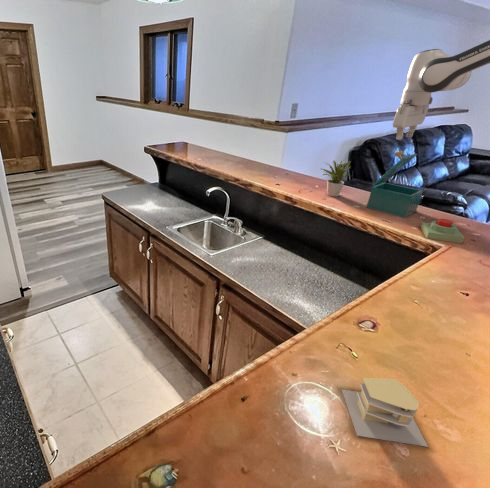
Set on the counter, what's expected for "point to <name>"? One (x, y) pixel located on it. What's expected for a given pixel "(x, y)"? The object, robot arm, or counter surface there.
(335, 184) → the house plant
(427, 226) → the console
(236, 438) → the counter surface
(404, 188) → the chest
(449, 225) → the button
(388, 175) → the lid
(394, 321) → the counter surface
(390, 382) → the stacked layers on plate
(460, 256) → the counter surface
